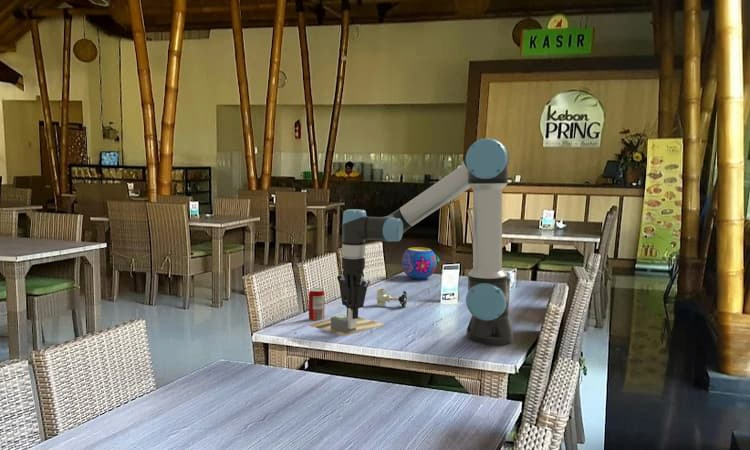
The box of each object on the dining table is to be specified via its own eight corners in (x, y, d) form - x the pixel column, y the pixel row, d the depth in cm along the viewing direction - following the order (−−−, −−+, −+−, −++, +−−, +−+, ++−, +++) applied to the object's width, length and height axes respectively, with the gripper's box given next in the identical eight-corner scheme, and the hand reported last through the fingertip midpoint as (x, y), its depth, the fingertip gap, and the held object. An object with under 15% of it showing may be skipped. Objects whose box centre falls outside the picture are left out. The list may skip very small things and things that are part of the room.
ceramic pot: (443, 280, 284) (444, 250, 283) (413, 283, 275) (414, 252, 274) (423, 273, 299) (424, 245, 298) (394, 276, 290) (395, 247, 289)
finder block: (355, 330, 191) (356, 317, 190) (345, 333, 187) (345, 320, 186) (341, 325, 195) (341, 313, 195) (330, 328, 192) (330, 316, 191)
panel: (385, 327, 199) (385, 324, 198) (343, 339, 184) (343, 336, 184) (348, 317, 211) (348, 314, 211) (307, 328, 196) (307, 324, 196)
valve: (374, 307, 227) (403, 309, 225) (374, 290, 227) (404, 293, 224) (378, 303, 234) (406, 305, 231) (378, 287, 233) (407, 289, 230)
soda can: (315, 318, 208) (315, 286, 207) (327, 321, 205) (327, 288, 204) (305, 322, 203) (305, 289, 202) (318, 324, 201) (318, 291, 199)
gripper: (376, 258, 184) (374, 329, 186) (347, 253, 193) (346, 321, 195) (359, 260, 178) (358, 334, 181) (331, 255, 187) (330, 325, 190)
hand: (352, 327), depth 188 cm, fingers closed
